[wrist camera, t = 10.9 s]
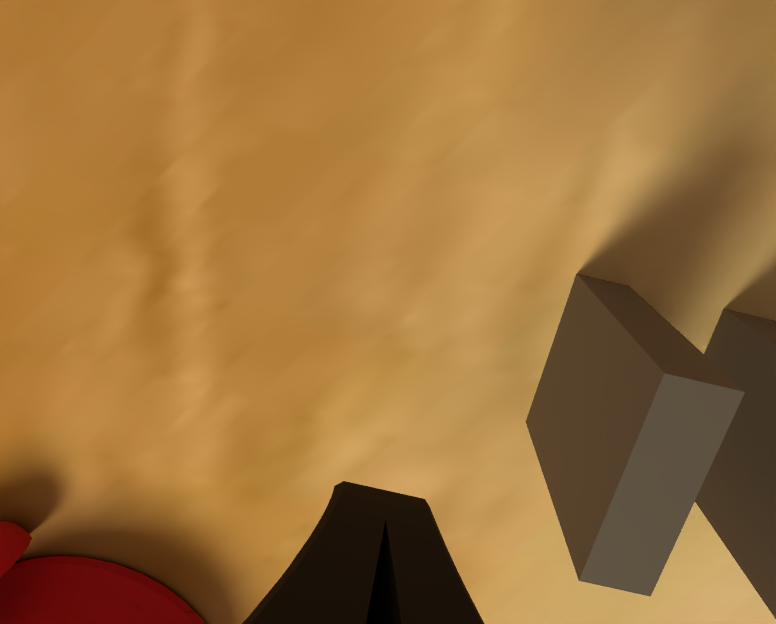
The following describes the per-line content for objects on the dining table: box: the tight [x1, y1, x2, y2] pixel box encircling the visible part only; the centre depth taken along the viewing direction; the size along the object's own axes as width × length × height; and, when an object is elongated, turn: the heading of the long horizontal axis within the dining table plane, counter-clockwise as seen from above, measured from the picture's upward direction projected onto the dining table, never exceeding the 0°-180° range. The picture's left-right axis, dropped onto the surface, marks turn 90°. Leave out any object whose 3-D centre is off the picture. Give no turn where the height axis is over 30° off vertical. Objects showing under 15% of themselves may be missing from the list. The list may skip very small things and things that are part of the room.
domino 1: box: [526, 274, 745, 596], centre depth 16 cm, size 2×5×7 cm, turn 167°
